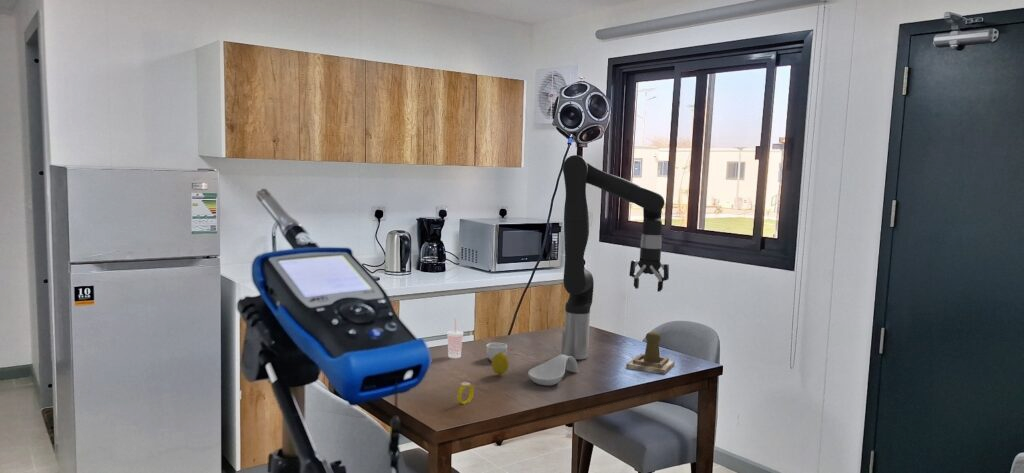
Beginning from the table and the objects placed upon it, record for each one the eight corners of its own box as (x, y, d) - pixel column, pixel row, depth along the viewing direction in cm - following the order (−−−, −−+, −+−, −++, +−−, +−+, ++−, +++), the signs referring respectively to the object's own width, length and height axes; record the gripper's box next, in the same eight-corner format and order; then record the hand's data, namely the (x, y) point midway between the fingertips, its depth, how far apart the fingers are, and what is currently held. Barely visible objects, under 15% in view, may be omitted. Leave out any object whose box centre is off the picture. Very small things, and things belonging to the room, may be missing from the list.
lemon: (496, 378, 232) (496, 355, 231) (488, 374, 237) (489, 351, 236) (510, 376, 235) (511, 353, 234) (503, 372, 240) (504, 349, 239)
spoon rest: (551, 391, 221) (552, 369, 221) (520, 384, 228) (521, 362, 227) (587, 375, 241) (588, 354, 240) (557, 368, 248) (558, 348, 247)
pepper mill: (659, 365, 250) (661, 335, 248) (642, 363, 251) (644, 333, 250) (660, 361, 255) (662, 331, 254) (644, 359, 257) (645, 330, 256)
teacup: (498, 363, 250) (498, 349, 250) (481, 359, 255) (481, 345, 254) (514, 358, 258) (515, 343, 258) (497, 354, 263) (498, 340, 262)
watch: (462, 407, 204) (462, 387, 203) (455, 405, 206) (455, 385, 205) (475, 400, 209) (475, 381, 208) (468, 398, 211) (468, 379, 210)
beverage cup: (464, 358, 256) (466, 320, 255) (448, 359, 254) (449, 321, 252) (459, 353, 262) (461, 317, 260) (444, 354, 259) (445, 317, 258)
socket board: (626, 367, 250) (626, 360, 250) (637, 359, 263) (637, 352, 263) (664, 374, 244) (665, 366, 244) (674, 364, 257) (674, 357, 257)
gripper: (629, 245, 258) (626, 288, 260) (667, 249, 252) (664, 293, 253) (635, 244, 265) (632, 286, 266) (672, 247, 258) (669, 290, 260)
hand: (647, 289), depth 260 cm, fingers open, 8 cm apart
